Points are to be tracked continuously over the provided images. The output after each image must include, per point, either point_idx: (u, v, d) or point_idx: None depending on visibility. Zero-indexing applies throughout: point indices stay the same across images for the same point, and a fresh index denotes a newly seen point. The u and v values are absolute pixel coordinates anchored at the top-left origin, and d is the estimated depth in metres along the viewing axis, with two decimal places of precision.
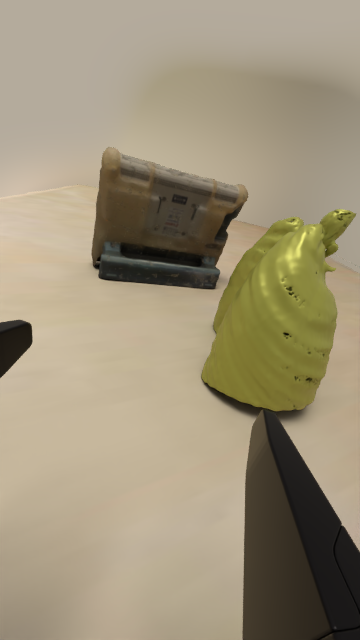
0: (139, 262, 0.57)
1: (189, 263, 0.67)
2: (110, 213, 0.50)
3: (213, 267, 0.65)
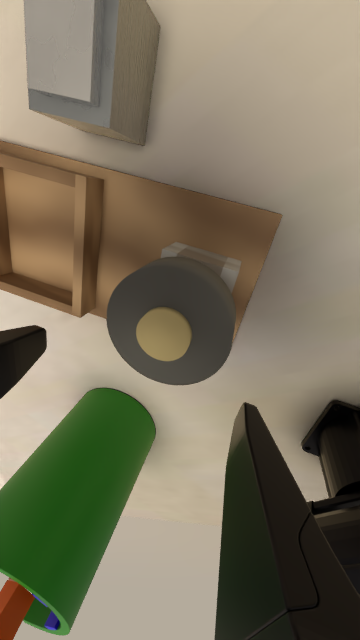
0: None
1: None
2: None
3: None
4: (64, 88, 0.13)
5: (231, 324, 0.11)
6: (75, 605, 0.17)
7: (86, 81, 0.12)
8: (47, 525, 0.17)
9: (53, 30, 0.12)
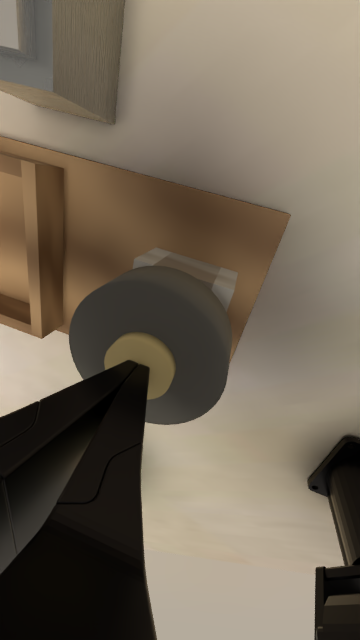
0: None
1: None
2: None
3: None
4: None
5: (225, 356, 0.09)
6: None
7: (10, 17, 0.08)
8: None
9: None
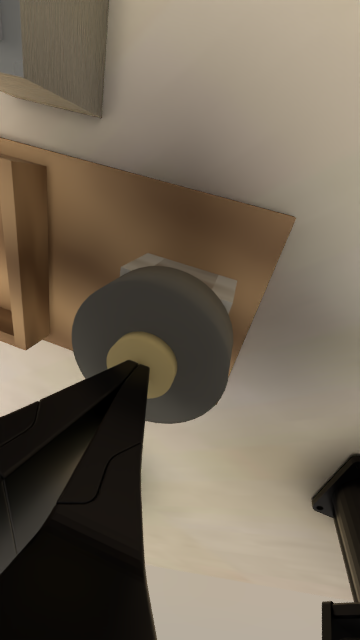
0: None
1: None
2: None
3: None
4: None
5: (227, 355, 0.09)
6: None
7: None
8: None
9: None
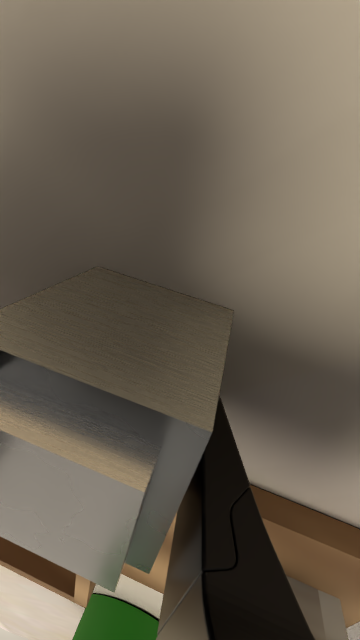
0: None
1: None
2: None
3: None
4: (59, 560, 0.06)
5: None
6: None
7: (107, 576, 0.06)
8: None
9: (32, 507, 0.05)
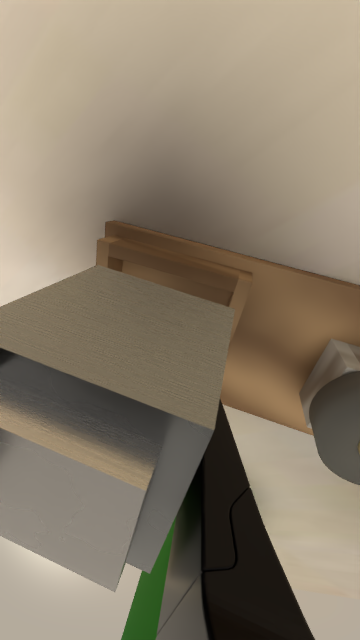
0: None
1: None
2: None
3: None
4: (59, 560, 0.06)
5: None
6: None
7: (108, 575, 0.06)
8: None
9: (32, 506, 0.05)
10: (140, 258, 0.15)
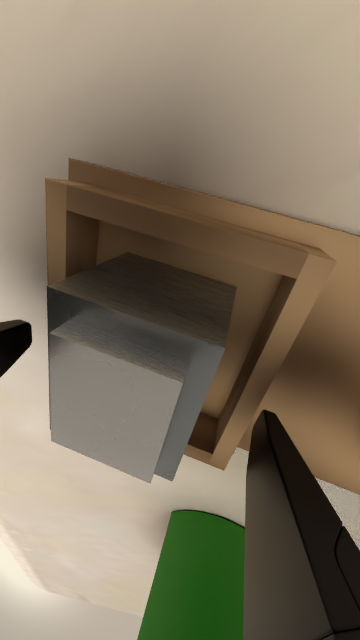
0: None
1: None
2: None
3: None
4: (110, 460, 0.08)
5: None
6: None
7: (147, 467, 0.08)
8: None
9: (98, 411, 0.07)
10: (122, 214, 0.08)
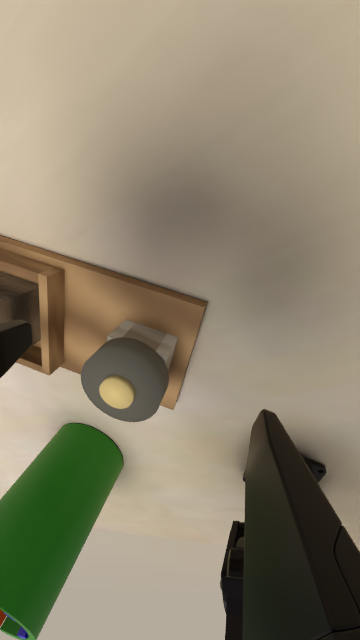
0: None
1: None
2: None
3: None
4: None
5: (158, 388, 0.18)
6: (40, 619, 0.21)
7: None
8: (17, 555, 0.21)
9: None
10: None
